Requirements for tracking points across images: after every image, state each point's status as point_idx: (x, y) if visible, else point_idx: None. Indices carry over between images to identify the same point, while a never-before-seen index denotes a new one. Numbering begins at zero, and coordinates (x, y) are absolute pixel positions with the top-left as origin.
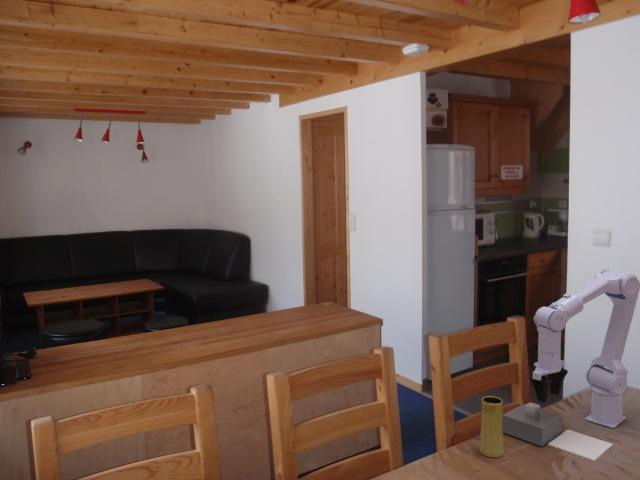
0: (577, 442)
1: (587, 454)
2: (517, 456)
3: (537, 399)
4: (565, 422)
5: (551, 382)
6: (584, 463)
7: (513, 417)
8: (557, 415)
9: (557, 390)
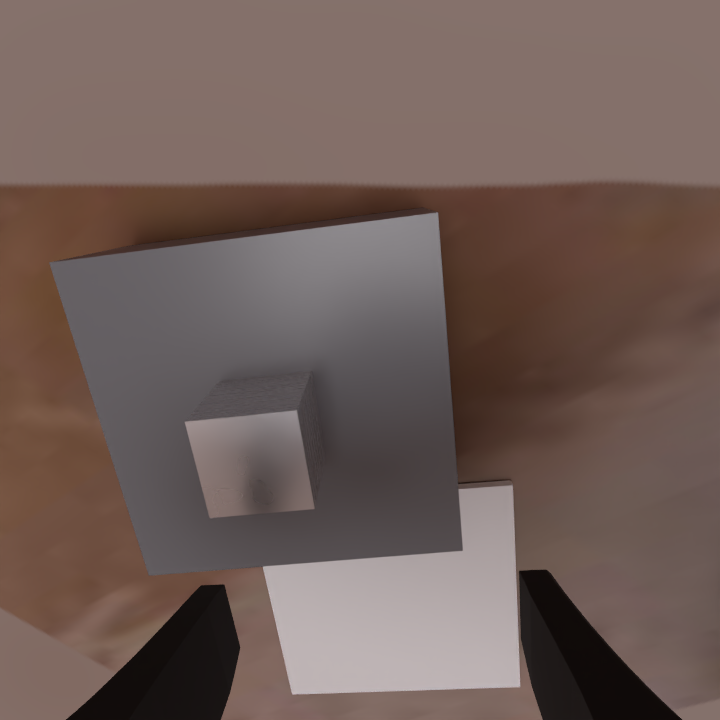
0: (393, 586)
1: (315, 659)
2: (13, 467)
3: (185, 602)
4: (623, 413)
5: (576, 706)
6: (244, 669)
7: (99, 353)
8: (446, 525)
9: (537, 688)
